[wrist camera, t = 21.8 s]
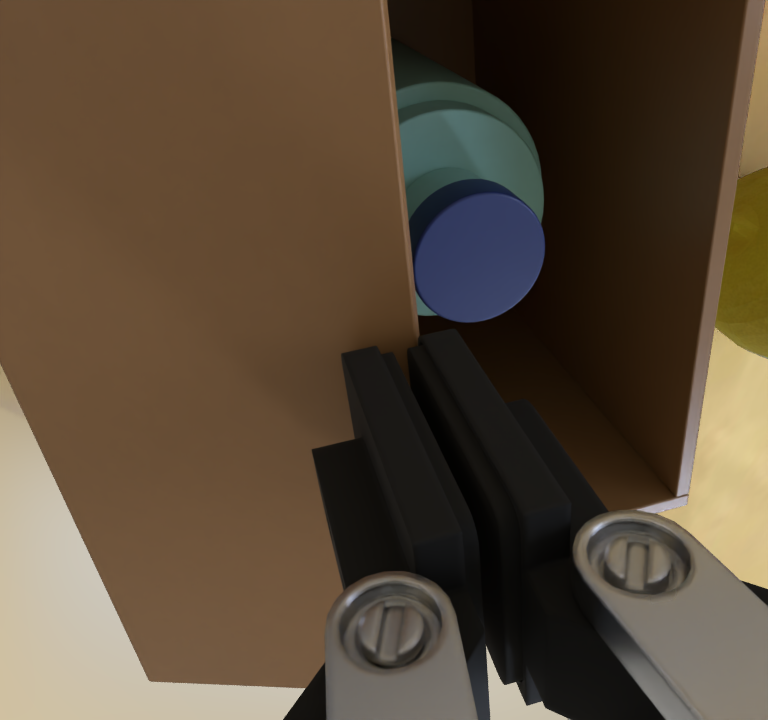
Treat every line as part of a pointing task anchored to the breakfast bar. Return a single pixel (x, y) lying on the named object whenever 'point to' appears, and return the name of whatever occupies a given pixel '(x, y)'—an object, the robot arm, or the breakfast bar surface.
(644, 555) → the robot arm
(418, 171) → the bottle
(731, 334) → the lemon
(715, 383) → the breakfast bar surface
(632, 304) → the carton
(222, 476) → the flap
